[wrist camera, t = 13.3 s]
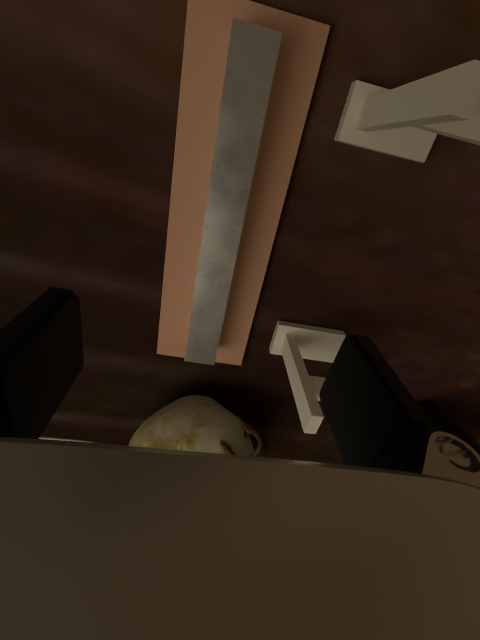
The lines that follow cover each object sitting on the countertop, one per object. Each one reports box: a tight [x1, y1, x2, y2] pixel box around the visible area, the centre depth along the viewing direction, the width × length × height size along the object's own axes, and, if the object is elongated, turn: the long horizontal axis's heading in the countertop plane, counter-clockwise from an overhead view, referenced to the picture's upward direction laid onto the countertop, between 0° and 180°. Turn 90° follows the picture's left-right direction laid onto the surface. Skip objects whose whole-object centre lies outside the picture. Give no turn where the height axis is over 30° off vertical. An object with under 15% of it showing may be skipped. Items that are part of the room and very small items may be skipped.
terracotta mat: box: [157, 0, 330, 365], centre depth 28 cm, size 31×10×1 cm, turn 168°
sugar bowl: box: [129, 395, 267, 458], centre depth 35 cm, size 20×15×15 cm
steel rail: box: [184, 18, 282, 365], centre depth 27 cm, size 27×3×3 cm, turn 168°
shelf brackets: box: [269, 60, 480, 434], centre depth 25 cm, size 26×8×13 cm, turn 168°
